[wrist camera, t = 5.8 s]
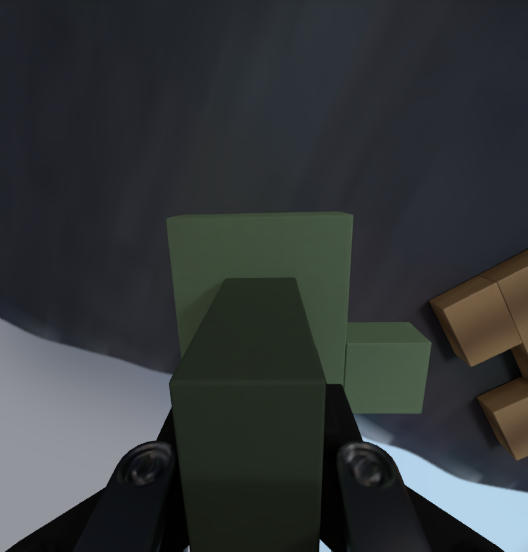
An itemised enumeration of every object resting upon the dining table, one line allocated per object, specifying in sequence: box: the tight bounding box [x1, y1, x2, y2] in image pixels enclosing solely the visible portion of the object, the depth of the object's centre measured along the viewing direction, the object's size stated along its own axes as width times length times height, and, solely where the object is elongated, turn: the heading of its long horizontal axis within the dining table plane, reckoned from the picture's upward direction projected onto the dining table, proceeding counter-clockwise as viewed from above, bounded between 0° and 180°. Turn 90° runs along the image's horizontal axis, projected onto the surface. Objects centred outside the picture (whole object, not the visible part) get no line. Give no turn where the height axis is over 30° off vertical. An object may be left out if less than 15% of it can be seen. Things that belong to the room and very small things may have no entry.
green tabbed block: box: [166, 211, 431, 552], centre depth 9 cm, size 12×9×8 cm
